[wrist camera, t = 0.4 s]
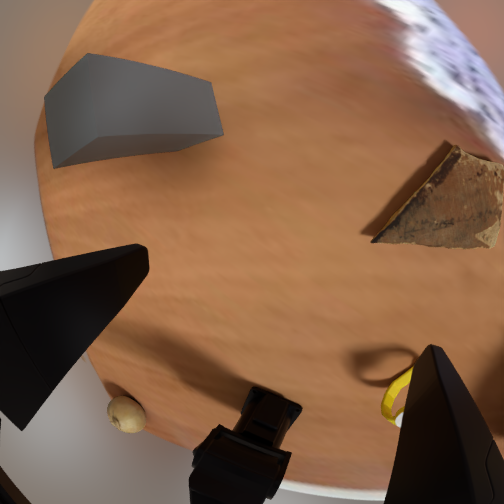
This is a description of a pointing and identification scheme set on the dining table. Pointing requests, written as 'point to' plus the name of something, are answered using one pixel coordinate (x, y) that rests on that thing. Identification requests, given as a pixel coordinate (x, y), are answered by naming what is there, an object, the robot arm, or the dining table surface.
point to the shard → (451, 206)
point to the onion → (126, 414)
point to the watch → (390, 397)
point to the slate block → (126, 111)
